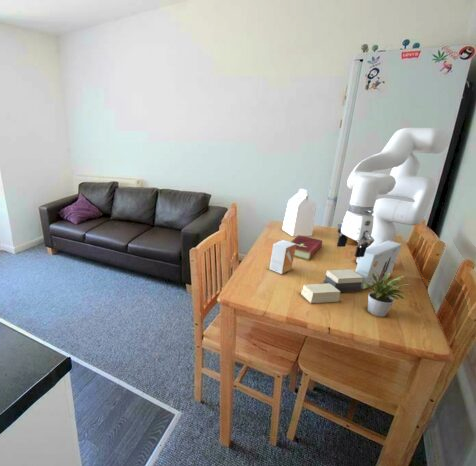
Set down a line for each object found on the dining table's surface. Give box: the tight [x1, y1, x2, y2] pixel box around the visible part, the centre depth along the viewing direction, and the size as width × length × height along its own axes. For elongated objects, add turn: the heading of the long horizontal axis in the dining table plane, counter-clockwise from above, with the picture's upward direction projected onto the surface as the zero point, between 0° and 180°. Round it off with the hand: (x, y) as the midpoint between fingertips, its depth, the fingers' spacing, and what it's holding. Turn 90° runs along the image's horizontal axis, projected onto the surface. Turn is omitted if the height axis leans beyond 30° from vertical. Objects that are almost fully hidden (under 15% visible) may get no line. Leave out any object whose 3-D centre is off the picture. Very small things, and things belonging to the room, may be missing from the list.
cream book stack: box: [300, 283, 341, 304], centre depth 120 cm, size 11×6×4 cm, turn 93°
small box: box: [269, 239, 296, 275], centre depth 141 cm, size 8×6×13 cm
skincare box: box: [354, 240, 403, 290], centre depth 128 cm, size 21×6×16 cm, turn 118°
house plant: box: [359, 270, 410, 317], centre depth 108 cm, size 14×14×16 cm
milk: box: [281, 188, 317, 237], centre depth 180 cm, size 12×12×26 cm
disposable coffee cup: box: [346, 236, 358, 246], centre depth 166 cm, size 10×10×12 cm
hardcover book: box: [290, 235, 323, 261], centre depth 161 cm, size 12×21×4 cm, turn 135°
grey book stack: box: [322, 275, 362, 293], centre depth 126 cm, size 11×6×4 cm, turn 93°
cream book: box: [325, 268, 363, 284], centre depth 125 cm, size 10×7×2 cm
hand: (349, 251), depth 121 cm, fingers open, 9 cm apart
